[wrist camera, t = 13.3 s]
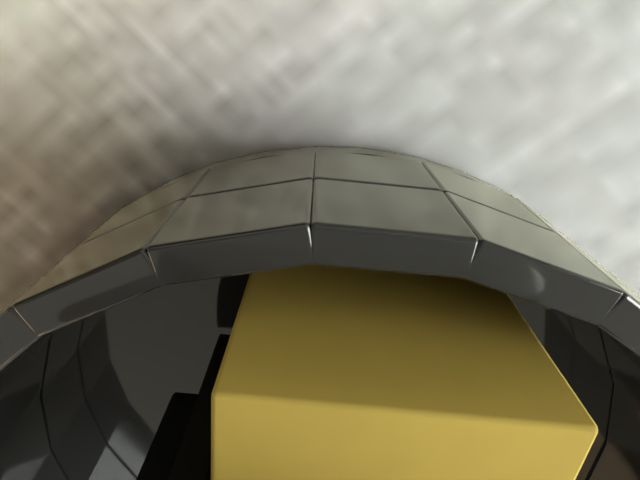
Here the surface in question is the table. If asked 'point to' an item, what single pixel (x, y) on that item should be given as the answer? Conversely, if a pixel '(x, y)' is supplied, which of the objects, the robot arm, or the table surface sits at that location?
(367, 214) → the pan
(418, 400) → the sponge
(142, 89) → the table surface
